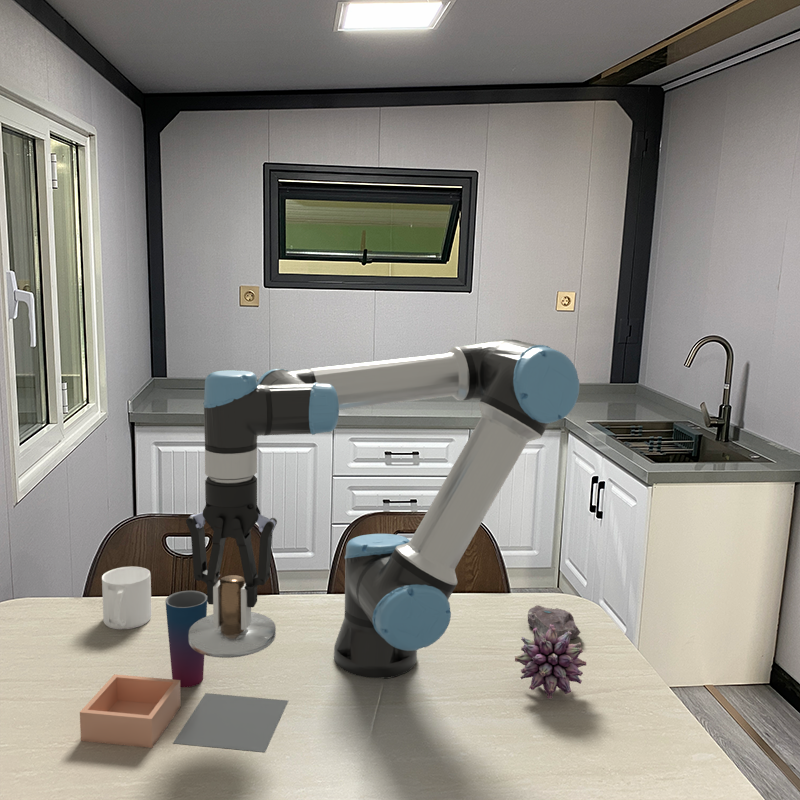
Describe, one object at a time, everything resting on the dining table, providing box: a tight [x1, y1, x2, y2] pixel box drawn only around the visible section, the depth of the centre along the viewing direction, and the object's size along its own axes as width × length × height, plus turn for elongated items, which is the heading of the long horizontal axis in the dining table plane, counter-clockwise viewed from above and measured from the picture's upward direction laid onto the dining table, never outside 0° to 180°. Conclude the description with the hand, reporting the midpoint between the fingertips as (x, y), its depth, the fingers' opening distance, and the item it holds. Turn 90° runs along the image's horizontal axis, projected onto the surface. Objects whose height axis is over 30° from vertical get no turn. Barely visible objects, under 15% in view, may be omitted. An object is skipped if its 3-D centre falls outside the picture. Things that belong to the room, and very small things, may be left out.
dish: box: [79, 674, 182, 749], centre depth 122 cm, size 11×11×5 cm
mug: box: [101, 566, 153, 630], centre depth 156 cm, size 12×9×9 cm
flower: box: [514, 624, 587, 700], centre depth 134 cm, size 12×12×12 cm
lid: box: [189, 574, 277, 659], centre depth 121 cm, size 13×13×9 cm
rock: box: [527, 604, 582, 640], centre depth 158 cm, size 8×11×5 cm
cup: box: [164, 590, 208, 688], centre depth 134 cm, size 7×7×15 cm
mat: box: [172, 692, 289, 753], centre depth 124 cm, size 14×14×1 cm
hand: (232, 624), depth 121 cm, fingers closed on lid, 4 cm apart
